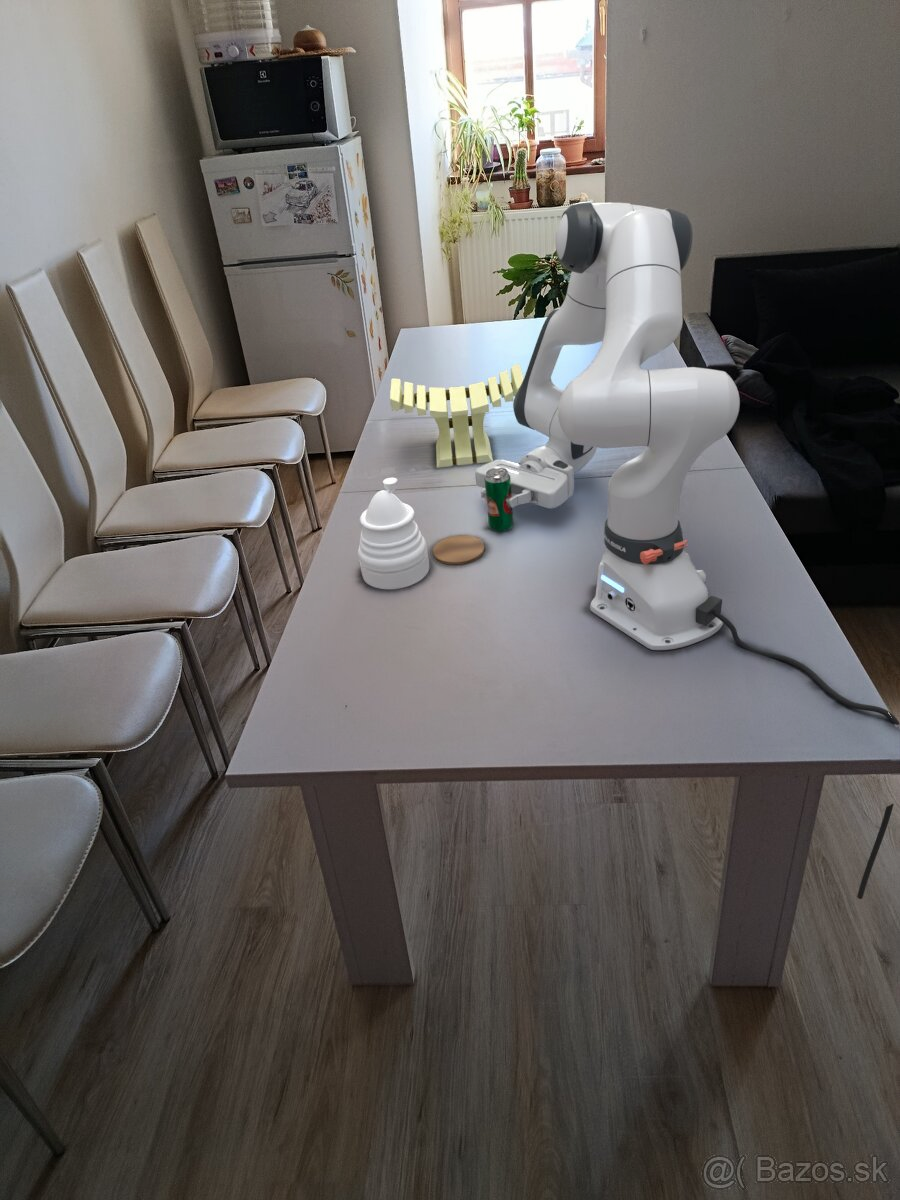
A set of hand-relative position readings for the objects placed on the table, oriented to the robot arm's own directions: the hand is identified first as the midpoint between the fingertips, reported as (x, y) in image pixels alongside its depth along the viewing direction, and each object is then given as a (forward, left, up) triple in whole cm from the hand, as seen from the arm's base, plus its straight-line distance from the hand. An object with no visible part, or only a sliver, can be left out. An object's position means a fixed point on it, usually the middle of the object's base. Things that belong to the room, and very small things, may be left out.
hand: (496, 499), depth 155 cm
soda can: (0, -1, -7) cm, 7 cm away
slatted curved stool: (+38, -9, -7) cm, 40 cm away
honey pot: (-4, +23, -7) cm, 24 cm away
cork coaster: (-4, +10, -7) cm, 13 cm away
